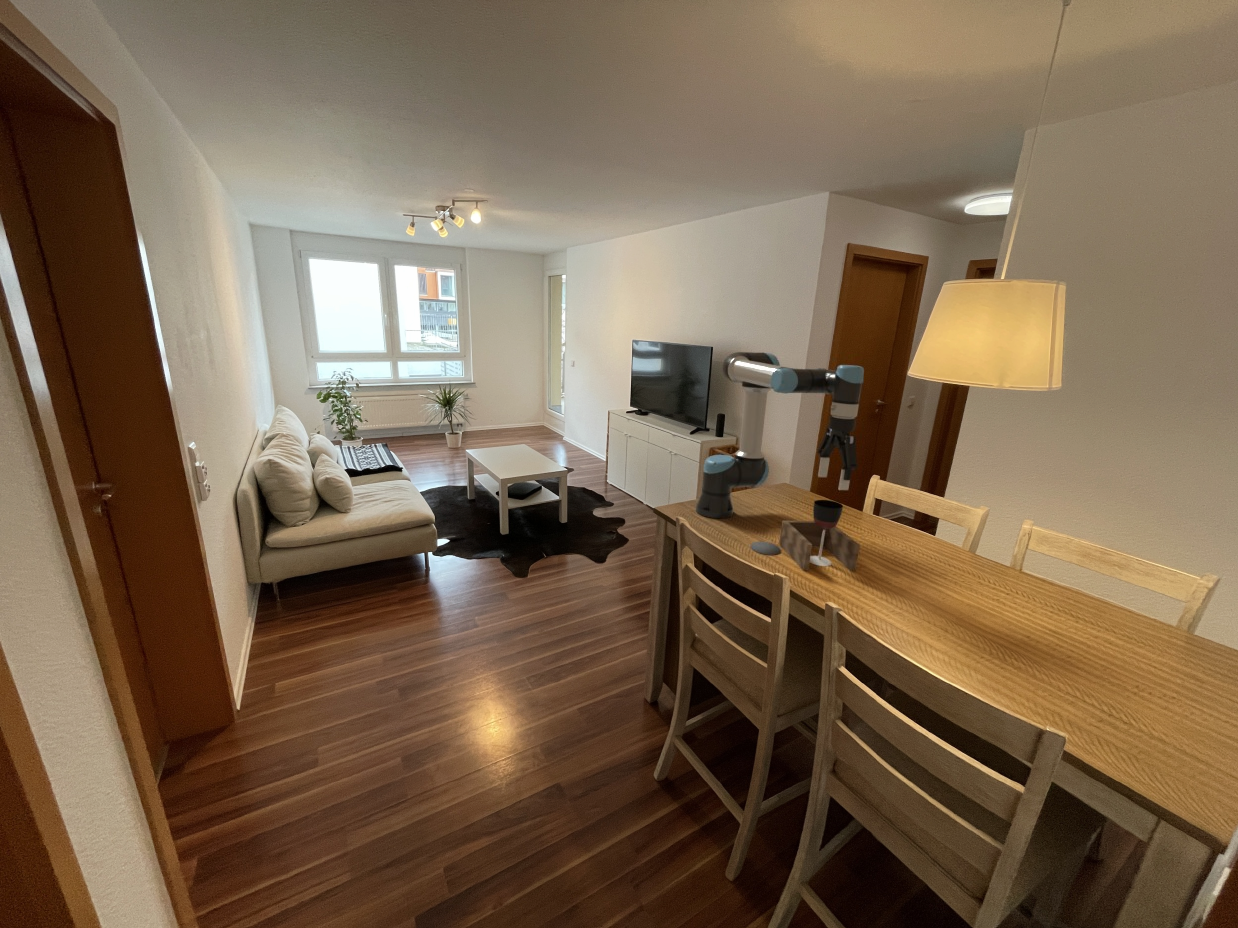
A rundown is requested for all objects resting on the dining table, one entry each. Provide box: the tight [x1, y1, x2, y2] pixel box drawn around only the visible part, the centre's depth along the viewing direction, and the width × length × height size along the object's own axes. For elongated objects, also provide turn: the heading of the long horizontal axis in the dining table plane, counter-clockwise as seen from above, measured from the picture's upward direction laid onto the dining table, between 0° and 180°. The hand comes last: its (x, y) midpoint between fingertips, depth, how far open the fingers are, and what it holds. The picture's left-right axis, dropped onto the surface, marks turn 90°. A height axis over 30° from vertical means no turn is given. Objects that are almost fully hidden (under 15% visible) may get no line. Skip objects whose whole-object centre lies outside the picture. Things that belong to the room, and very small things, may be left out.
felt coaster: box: [750, 541, 782, 556], centre depth 171 cm, size 10×10×1 cm
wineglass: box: [809, 499, 844, 567], centre depth 161 cm, size 8×9×20 cm
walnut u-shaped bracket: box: [778, 520, 861, 572], centre depth 165 cm, size 20×17×9 cm
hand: (832, 483), depth 157 cm, fingers open, 13 cm apart
